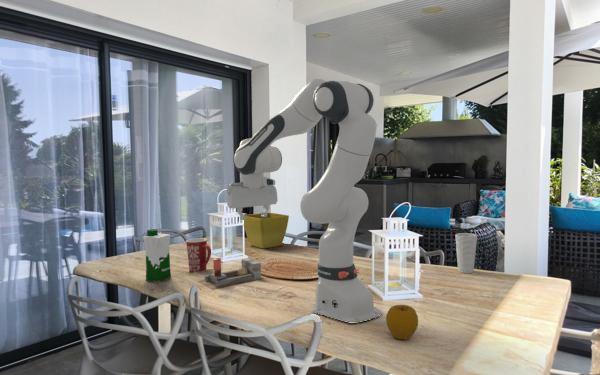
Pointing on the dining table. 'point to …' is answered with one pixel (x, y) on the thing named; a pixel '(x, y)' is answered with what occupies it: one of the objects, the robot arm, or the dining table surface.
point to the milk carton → (157, 255)
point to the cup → (466, 251)
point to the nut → (242, 271)
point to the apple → (402, 321)
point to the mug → (198, 254)
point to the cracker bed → (236, 276)
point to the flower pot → (266, 229)
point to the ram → (216, 271)
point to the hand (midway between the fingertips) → (253, 218)
